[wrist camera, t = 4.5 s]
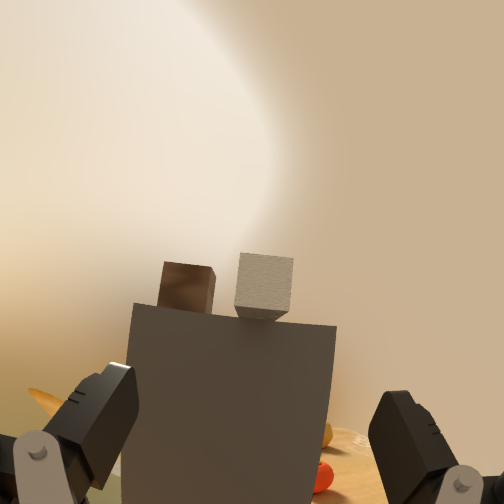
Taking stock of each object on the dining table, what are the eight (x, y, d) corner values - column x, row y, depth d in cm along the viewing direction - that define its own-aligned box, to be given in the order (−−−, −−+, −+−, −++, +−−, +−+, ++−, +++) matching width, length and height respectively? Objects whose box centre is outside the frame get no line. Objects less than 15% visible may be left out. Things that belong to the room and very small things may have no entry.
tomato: (285, 486, 47) (290, 457, 49) (312, 479, 50) (317, 452, 52) (309, 501, 40) (316, 470, 42) (337, 492, 43) (344, 463, 45)
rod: (234, 305, 17) (240, 252, 17) (242, 326, 43) (244, 306, 44) (289, 311, 16) (293, 258, 17) (263, 328, 43) (265, 308, 44)
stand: (127, 564, 17) (133, 302, 26) (151, 524, 27) (164, 313, 36) (287, 587, 17) (336, 326, 26) (279, 541, 27) (311, 330, 36)
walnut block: (156, 309, 30) (164, 261, 31) (168, 313, 34) (175, 271, 36) (204, 316, 30) (211, 266, 31) (210, 319, 34) (216, 276, 36)
